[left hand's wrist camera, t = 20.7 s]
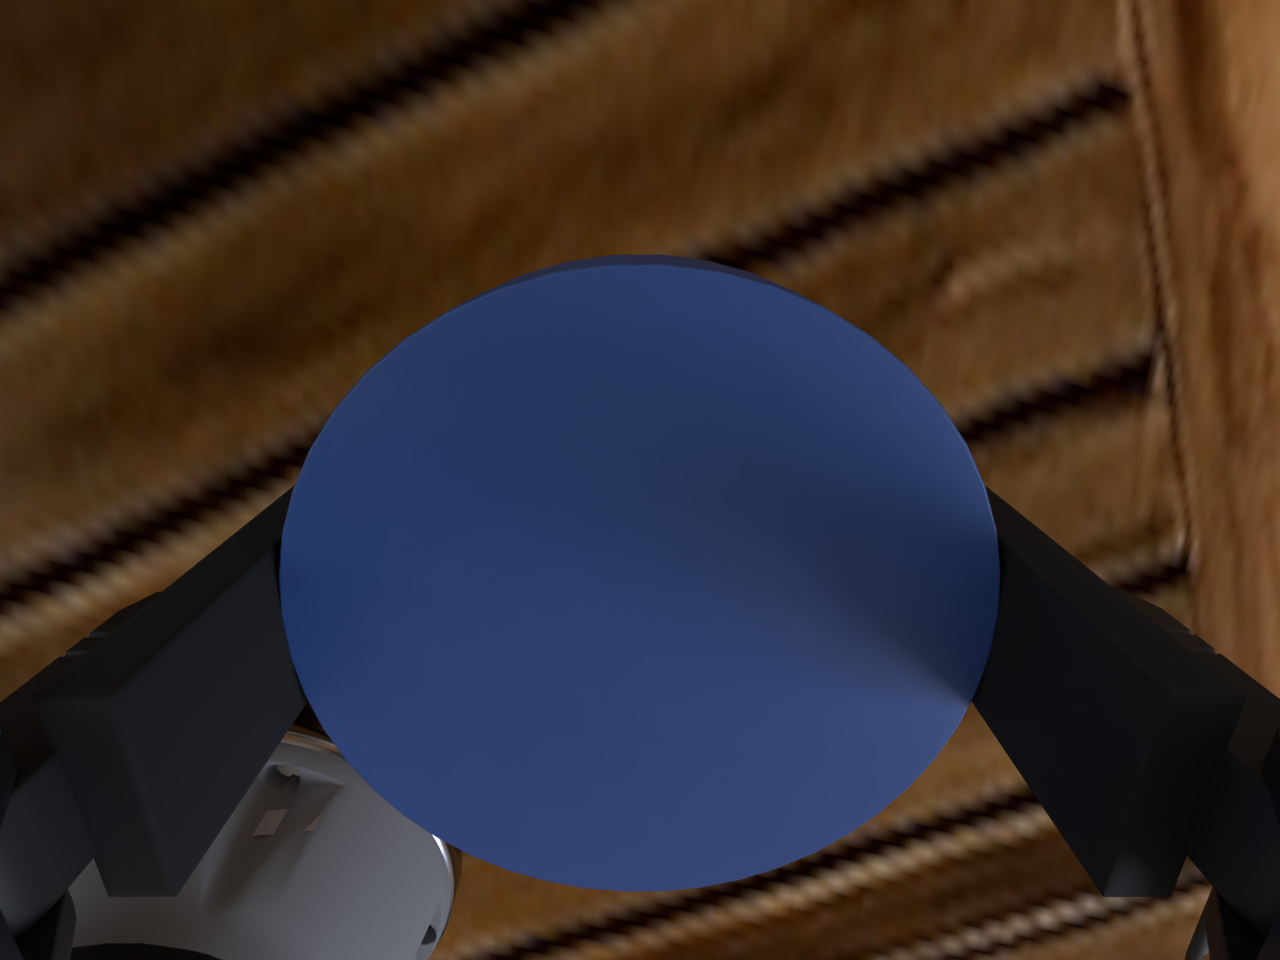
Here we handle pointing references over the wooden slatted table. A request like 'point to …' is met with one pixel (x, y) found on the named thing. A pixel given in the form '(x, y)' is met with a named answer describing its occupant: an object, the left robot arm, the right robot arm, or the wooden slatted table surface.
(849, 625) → the lid
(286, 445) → the wooden slatted table surface
